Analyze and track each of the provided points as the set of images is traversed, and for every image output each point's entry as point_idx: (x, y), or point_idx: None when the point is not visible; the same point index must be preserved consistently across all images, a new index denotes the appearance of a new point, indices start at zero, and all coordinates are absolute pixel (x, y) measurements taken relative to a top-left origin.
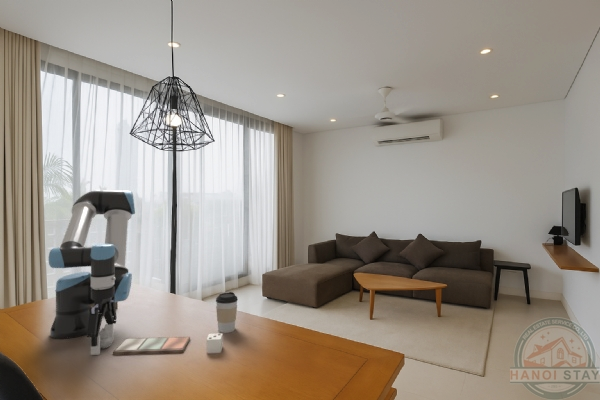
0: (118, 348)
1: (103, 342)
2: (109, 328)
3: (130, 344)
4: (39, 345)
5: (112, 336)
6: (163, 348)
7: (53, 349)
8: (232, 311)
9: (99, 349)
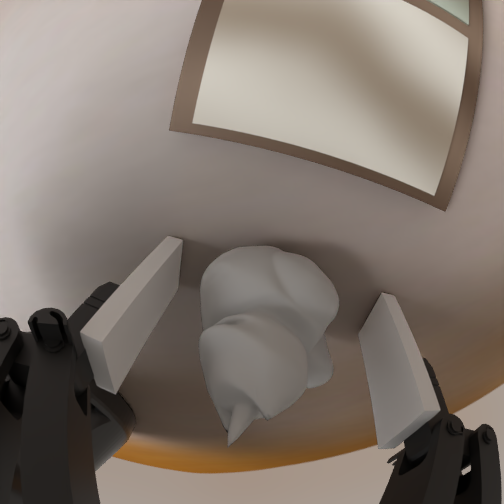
0: (409, 169)
1: (332, 320)
2: (126, 337)
3: (355, 63)
4: (180, 448)
5: (163, 261)
6: None
7: (221, 436)
8: None
9: (397, 315)
